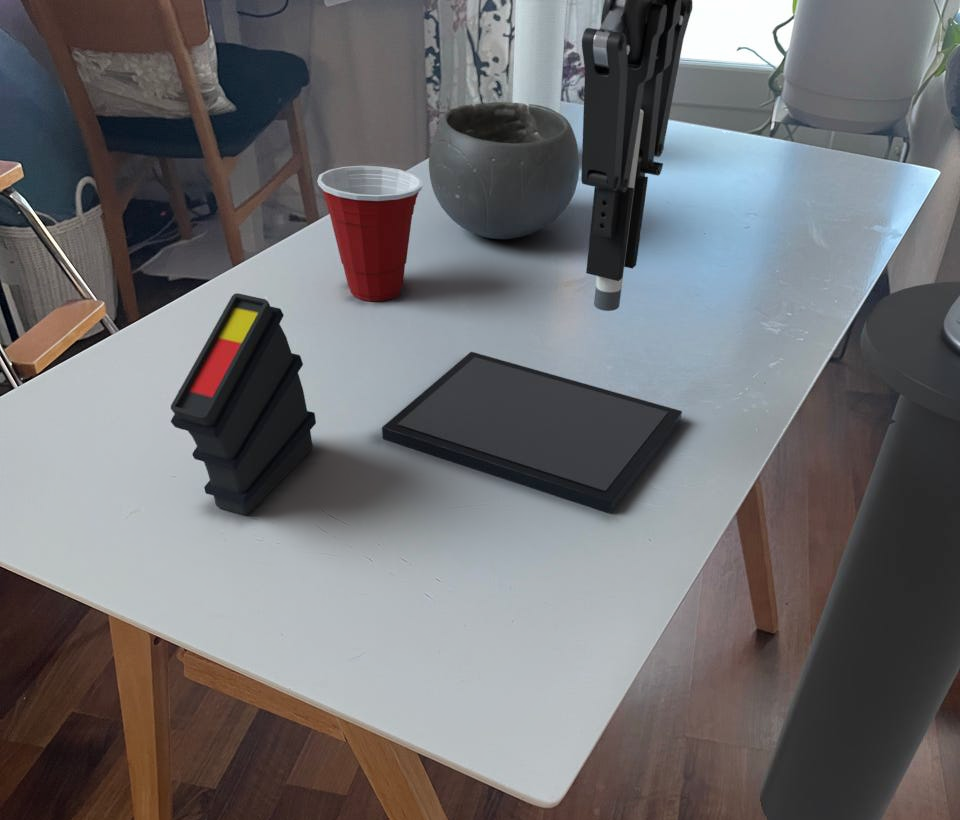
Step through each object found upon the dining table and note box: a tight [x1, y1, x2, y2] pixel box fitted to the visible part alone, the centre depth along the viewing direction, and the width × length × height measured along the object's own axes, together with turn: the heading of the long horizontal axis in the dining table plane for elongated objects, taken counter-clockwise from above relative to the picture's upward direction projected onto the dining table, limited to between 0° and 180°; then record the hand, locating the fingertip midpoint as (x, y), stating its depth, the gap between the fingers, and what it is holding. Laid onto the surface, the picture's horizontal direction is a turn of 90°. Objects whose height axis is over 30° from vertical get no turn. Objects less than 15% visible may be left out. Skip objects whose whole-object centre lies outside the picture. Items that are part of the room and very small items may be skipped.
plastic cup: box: [317, 165, 424, 302], centre depth 103 cm, size 11×11×12 cm
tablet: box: [381, 351, 683, 514], centre depth 86 cm, size 22×16×1 cm
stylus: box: [593, 110, 644, 312], centre depth 71 cm, size 2×2×14 cm
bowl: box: [428, 101, 580, 240], centre depth 115 cm, size 18×18×13 cm
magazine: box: [170, 292, 317, 516], centre depth 77 cm, size 4×13×15 cm, turn 157°
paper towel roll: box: [512, 0, 568, 114], centre depth 130 cm, size 7×6×21 cm
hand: (611, 268), depth 74 cm, fingers closed on stylus, 2 cm apart
